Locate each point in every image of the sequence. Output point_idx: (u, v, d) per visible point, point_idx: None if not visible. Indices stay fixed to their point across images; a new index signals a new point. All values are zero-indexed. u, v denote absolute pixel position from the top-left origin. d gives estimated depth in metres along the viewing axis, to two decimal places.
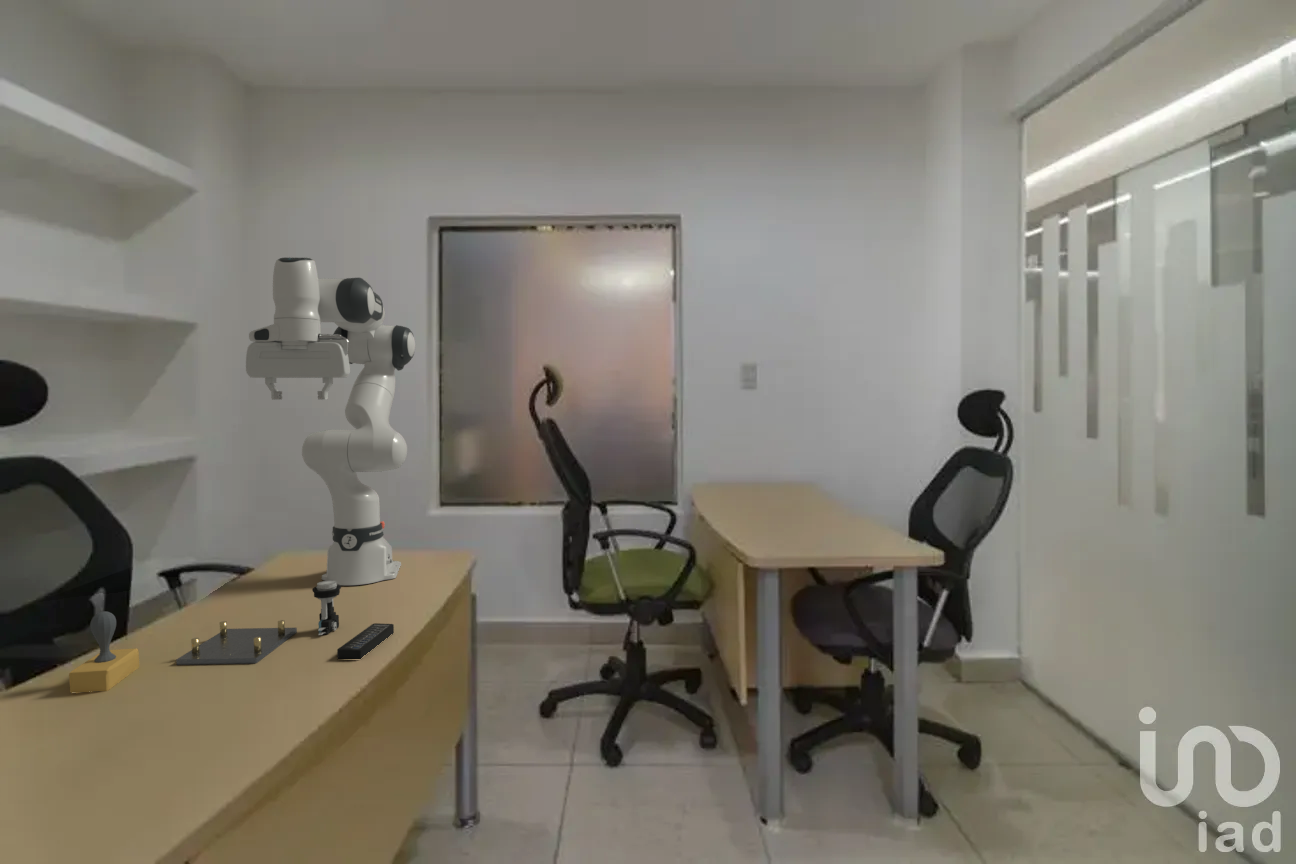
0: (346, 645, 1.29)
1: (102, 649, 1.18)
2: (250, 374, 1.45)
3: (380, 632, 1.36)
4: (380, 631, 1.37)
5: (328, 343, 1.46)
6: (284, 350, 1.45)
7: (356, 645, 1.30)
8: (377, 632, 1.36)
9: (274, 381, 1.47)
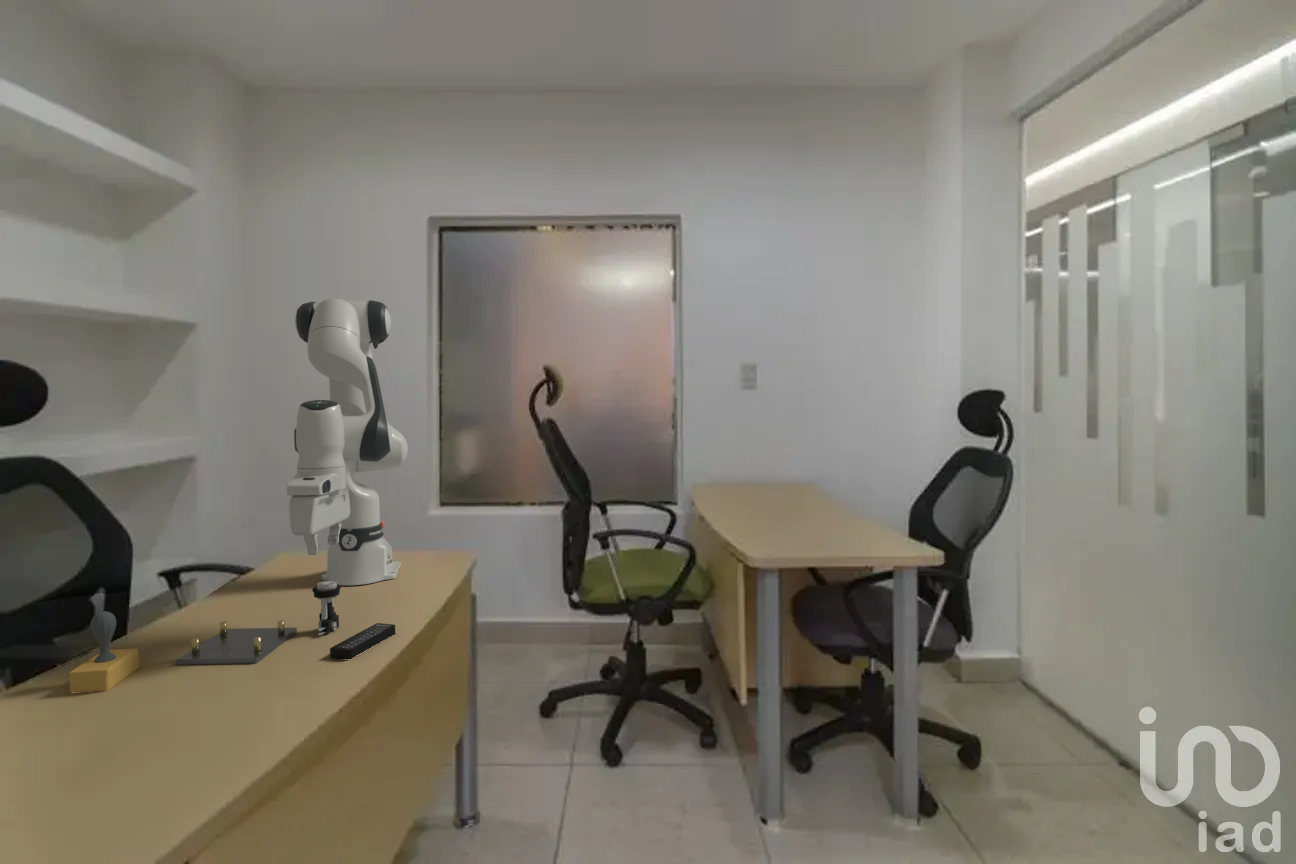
0: (339, 644, 1.30)
1: (102, 649, 1.18)
2: (312, 531, 1.32)
3: (378, 632, 1.36)
4: (379, 631, 1.37)
5: None
6: (326, 500, 1.38)
7: (349, 645, 1.30)
8: (375, 632, 1.36)
9: None
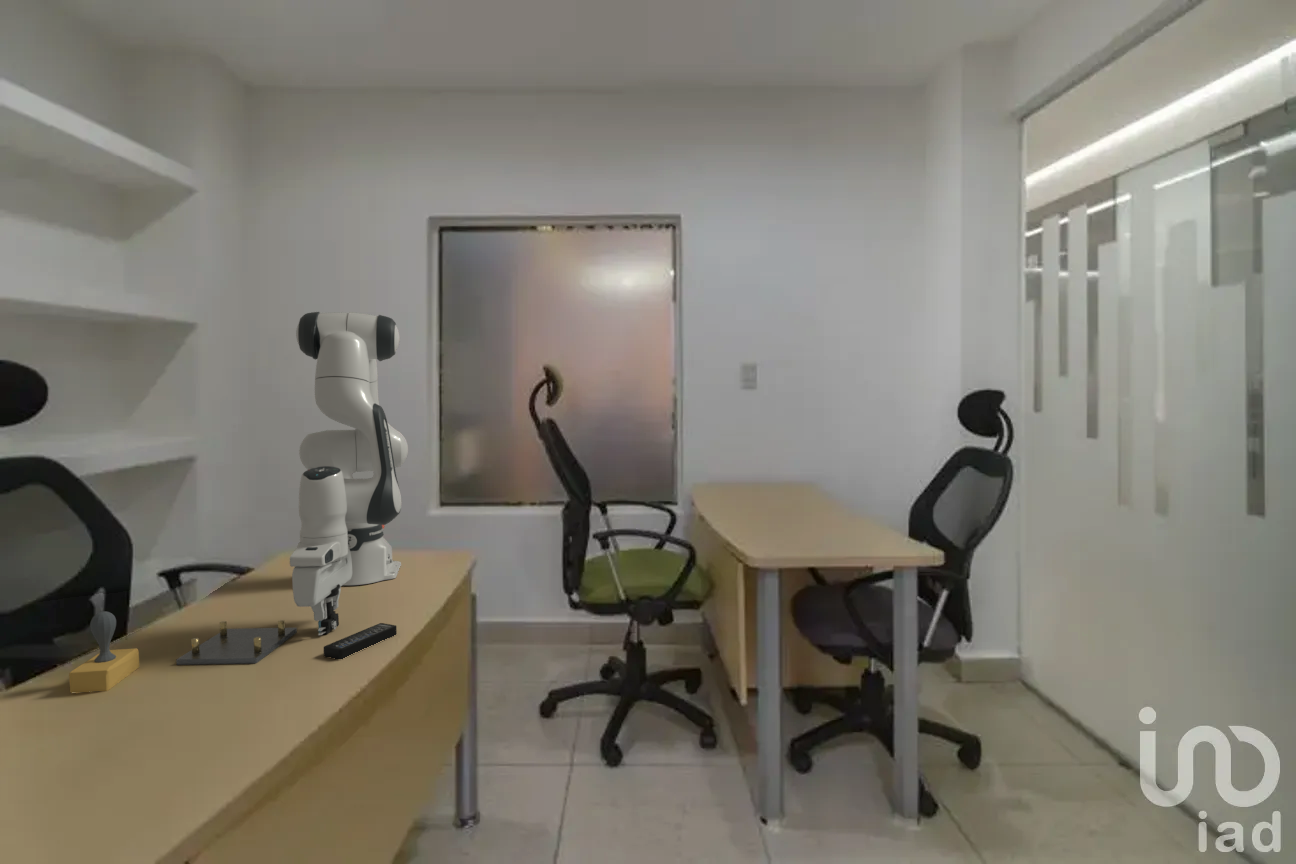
0: (334, 643, 1.30)
1: (102, 649, 1.18)
2: (315, 602, 1.33)
3: (376, 633, 1.36)
4: (377, 632, 1.37)
5: None
6: (329, 567, 1.39)
7: (343, 644, 1.30)
8: (374, 632, 1.36)
9: None
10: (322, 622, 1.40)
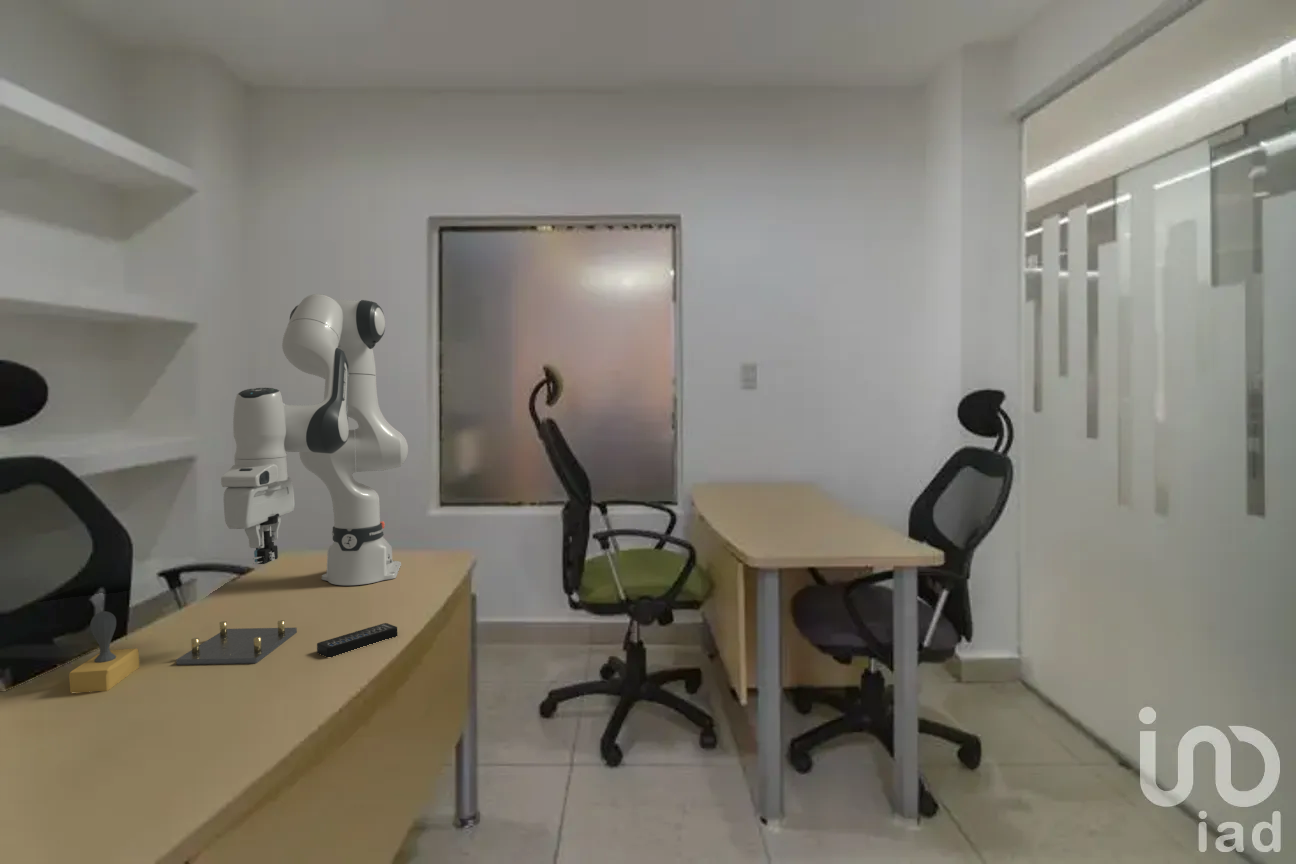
0: (328, 641, 1.32)
1: (102, 649, 1.18)
2: (248, 525, 1.25)
3: (373, 633, 1.36)
4: (375, 632, 1.36)
5: (287, 478, 1.41)
6: (265, 492, 1.32)
7: (335, 642, 1.31)
8: (371, 633, 1.36)
9: None
10: (258, 551, 1.32)
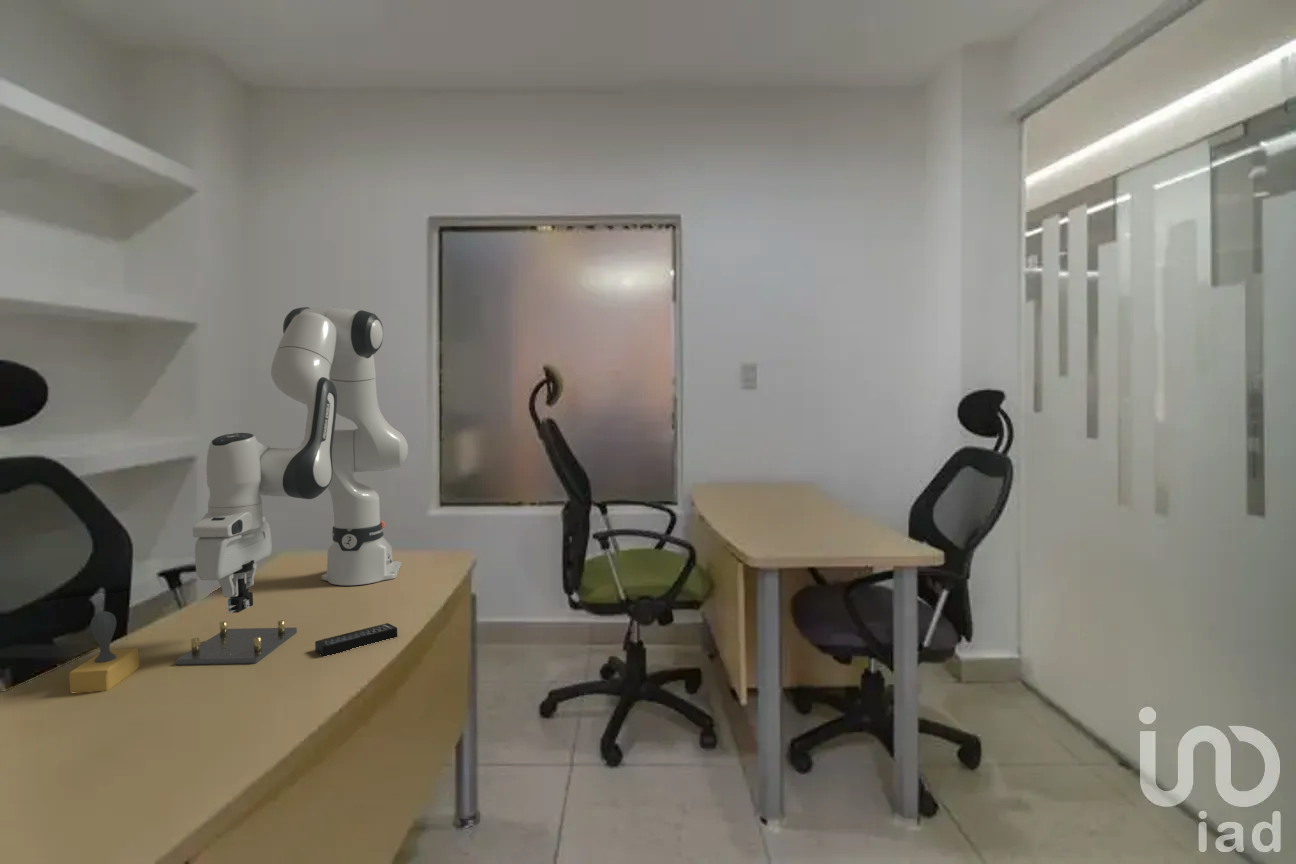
0: (326, 639, 1.33)
1: (102, 649, 1.18)
2: (220, 576, 1.23)
3: (371, 633, 1.36)
4: (373, 632, 1.36)
5: (263, 523, 1.39)
6: (239, 540, 1.30)
7: (332, 641, 1.32)
8: (370, 633, 1.36)
9: None
10: (232, 600, 1.31)
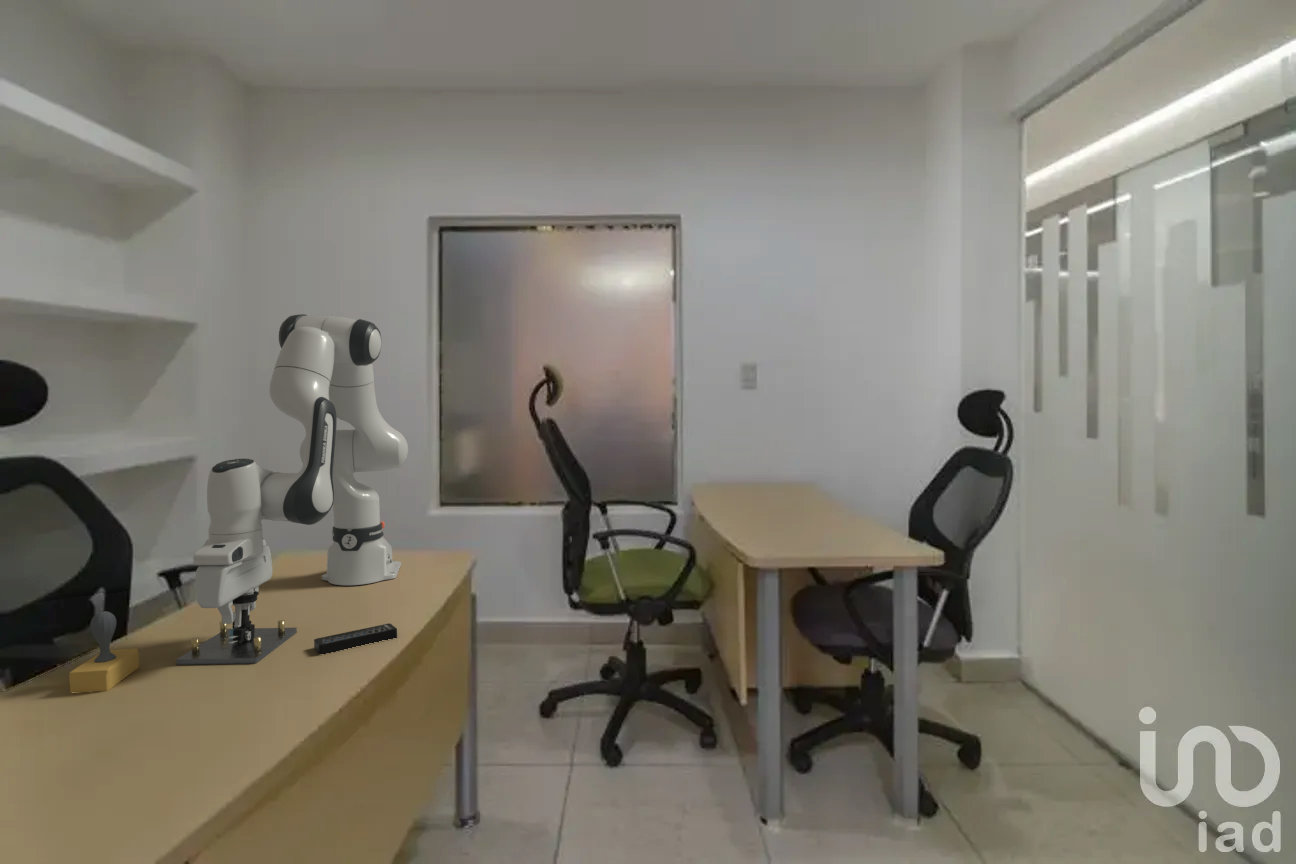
0: (325, 637, 1.33)
1: (102, 649, 1.18)
2: (221, 604, 1.24)
3: (370, 633, 1.36)
4: (372, 632, 1.36)
5: (264, 547, 1.39)
6: (240, 566, 1.30)
7: (330, 640, 1.32)
8: (369, 633, 1.36)
9: None
10: (235, 630, 1.31)
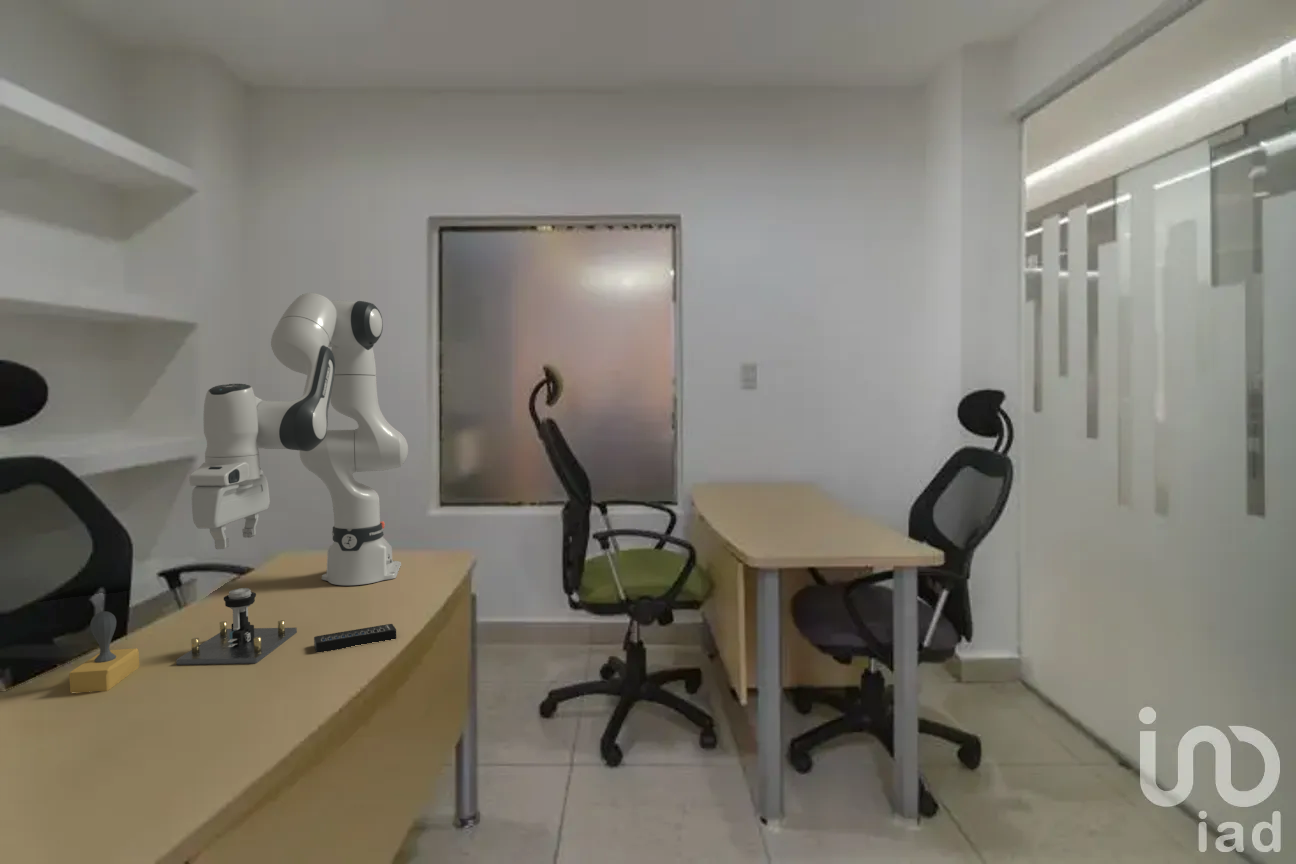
0: (325, 635, 1.35)
1: (102, 649, 1.18)
2: (217, 524, 1.23)
3: (368, 633, 1.36)
4: (371, 632, 1.36)
5: (261, 476, 1.38)
6: (237, 490, 1.29)
7: (328, 638, 1.33)
8: (367, 632, 1.36)
9: None
10: (234, 633, 1.31)
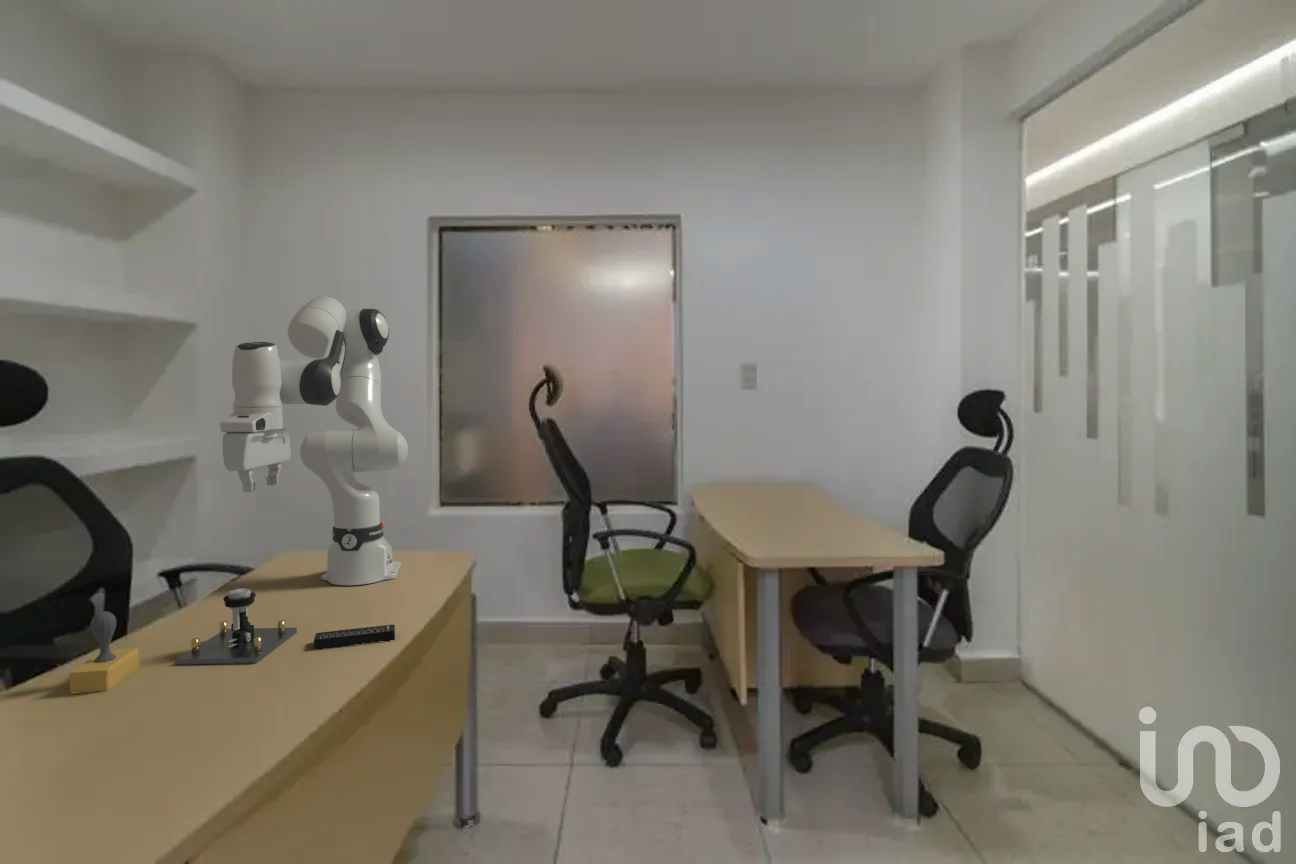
0: (326, 632, 1.36)
1: (102, 649, 1.18)
2: (246, 467, 1.34)
3: (366, 633, 1.36)
4: (369, 632, 1.36)
5: (283, 429, 1.50)
6: (262, 439, 1.41)
7: (327, 635, 1.35)
8: (366, 632, 1.36)
9: None
10: (234, 633, 1.31)
